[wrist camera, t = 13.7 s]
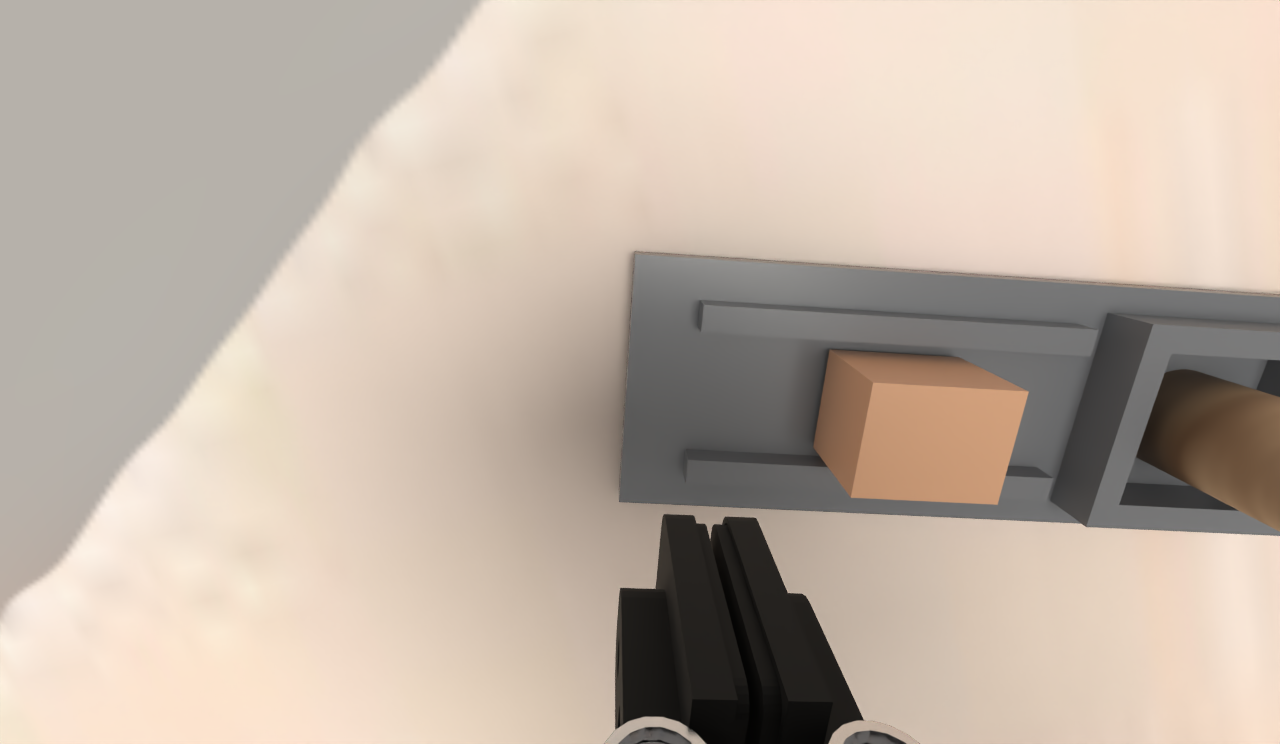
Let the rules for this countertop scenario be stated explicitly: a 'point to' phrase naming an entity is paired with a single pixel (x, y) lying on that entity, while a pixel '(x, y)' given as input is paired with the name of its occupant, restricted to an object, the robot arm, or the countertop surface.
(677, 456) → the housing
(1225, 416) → the brown round pin
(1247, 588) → the countertop surface
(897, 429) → the cardboard brown cuboid
